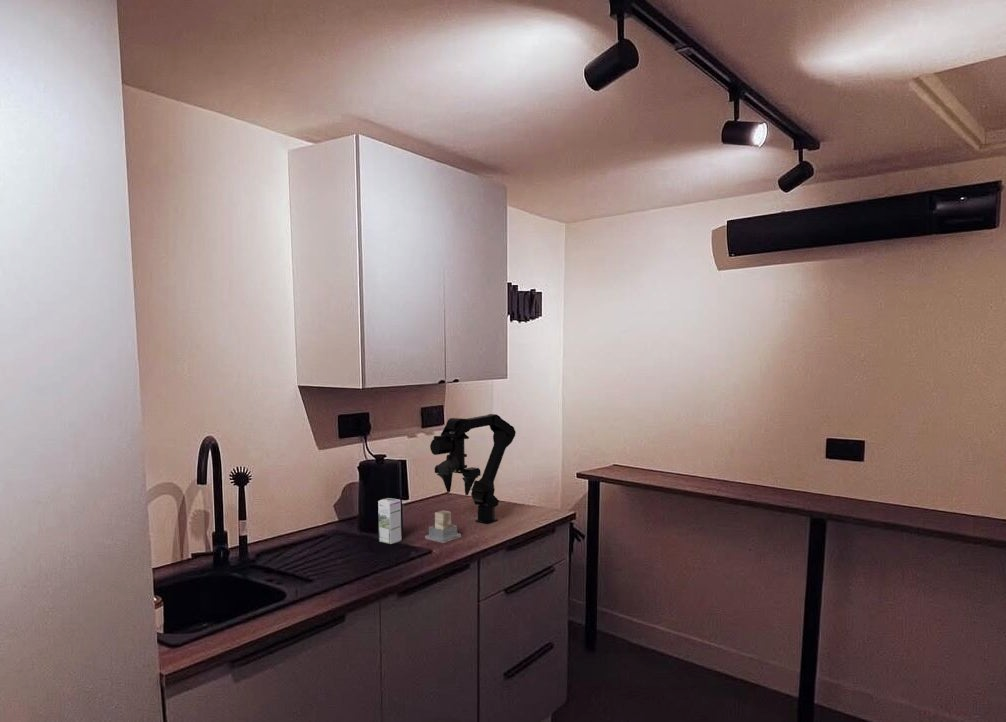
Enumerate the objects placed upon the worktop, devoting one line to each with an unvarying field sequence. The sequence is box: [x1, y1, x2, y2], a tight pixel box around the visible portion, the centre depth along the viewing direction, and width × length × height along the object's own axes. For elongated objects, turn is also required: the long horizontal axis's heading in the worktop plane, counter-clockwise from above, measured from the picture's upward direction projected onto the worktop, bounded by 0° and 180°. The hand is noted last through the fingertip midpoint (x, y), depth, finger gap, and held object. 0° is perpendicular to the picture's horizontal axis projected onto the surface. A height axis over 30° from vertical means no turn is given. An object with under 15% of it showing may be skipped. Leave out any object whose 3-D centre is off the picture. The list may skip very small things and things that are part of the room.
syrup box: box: [377, 497, 402, 545], centre depth 212 cm, size 6×6×14 cm
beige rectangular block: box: [434, 510, 452, 529], centre depth 215 cm, size 4×4×8 cm
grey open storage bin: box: [424, 524, 462, 544], centre depth 215 cm, size 9×9×4 cm
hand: (457, 493), depth 227 cm, fingers open, 9 cm apart
